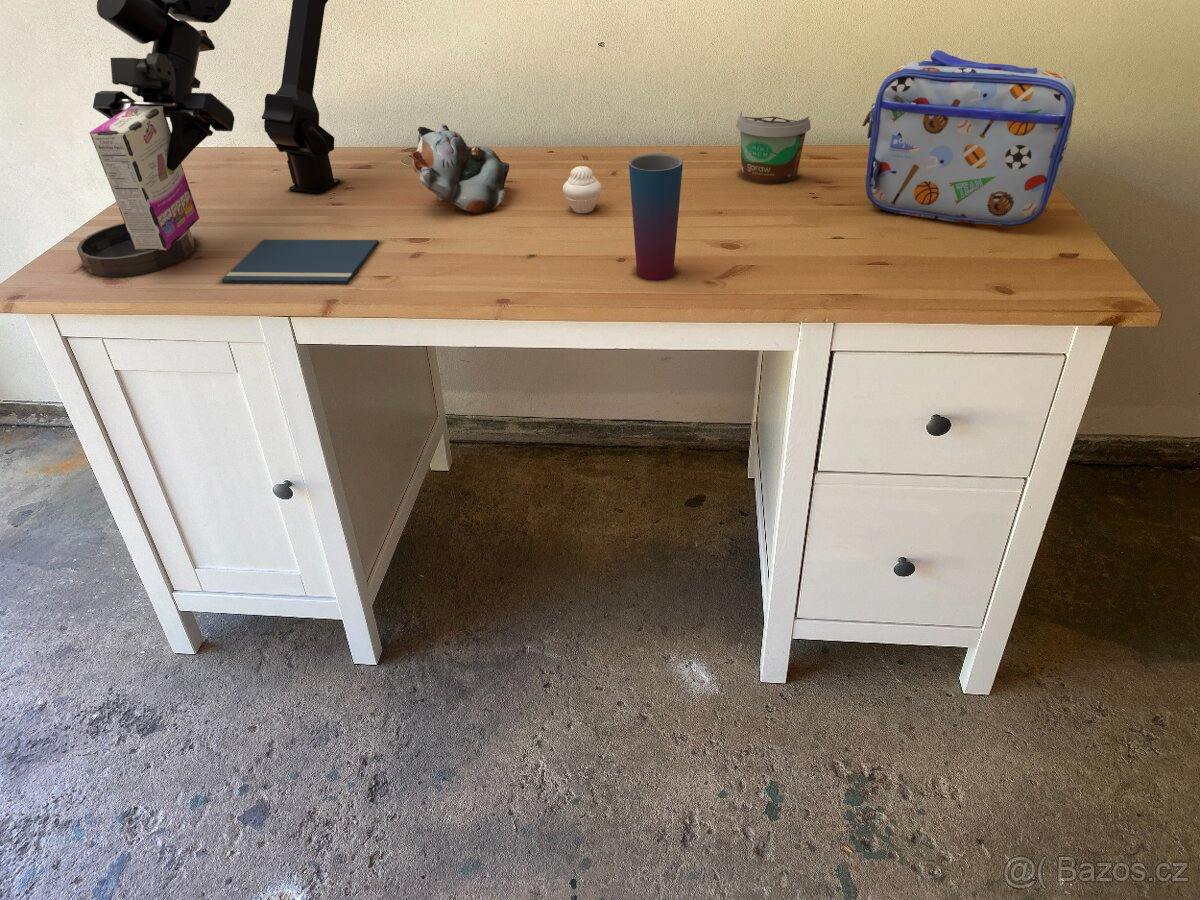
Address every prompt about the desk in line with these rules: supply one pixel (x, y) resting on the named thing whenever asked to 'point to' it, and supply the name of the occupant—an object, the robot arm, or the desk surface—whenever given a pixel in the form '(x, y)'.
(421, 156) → the lucky cat figurine
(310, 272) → the notebook
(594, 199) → the muffin
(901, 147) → the lunch box
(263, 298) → the desk surface
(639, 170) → the cup
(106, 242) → the pan
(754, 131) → the food container
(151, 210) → the candy bar box
